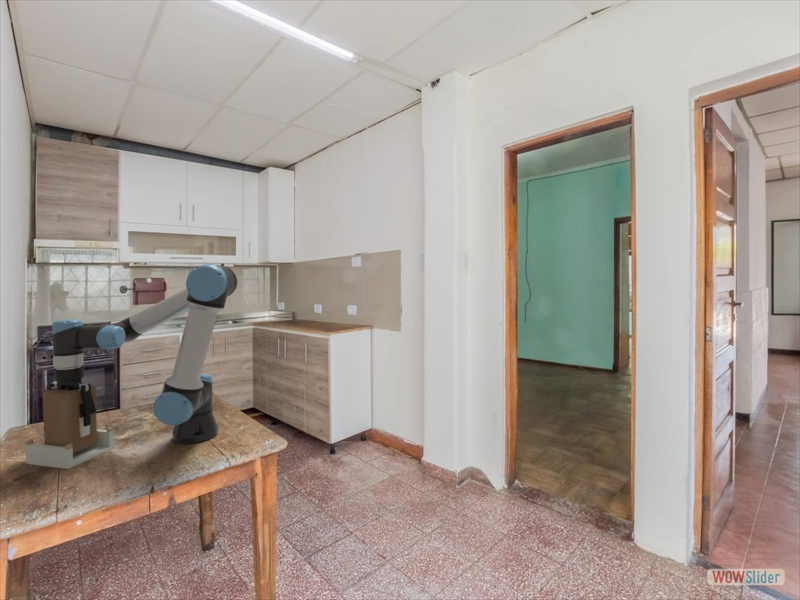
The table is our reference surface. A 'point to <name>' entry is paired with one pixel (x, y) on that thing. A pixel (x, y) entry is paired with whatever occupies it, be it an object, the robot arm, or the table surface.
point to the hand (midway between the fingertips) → (71, 434)
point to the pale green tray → (67, 452)
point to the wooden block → (66, 419)
